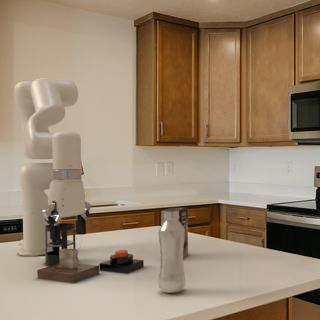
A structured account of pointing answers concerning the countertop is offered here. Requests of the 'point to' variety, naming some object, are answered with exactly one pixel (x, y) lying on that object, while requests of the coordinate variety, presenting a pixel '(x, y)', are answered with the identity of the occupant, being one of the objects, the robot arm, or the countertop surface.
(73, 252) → the bar knob
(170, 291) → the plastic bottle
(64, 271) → the dial panel
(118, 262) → the button box
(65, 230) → the french press
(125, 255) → the button
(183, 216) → the coffee box
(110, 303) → the countertop surface
